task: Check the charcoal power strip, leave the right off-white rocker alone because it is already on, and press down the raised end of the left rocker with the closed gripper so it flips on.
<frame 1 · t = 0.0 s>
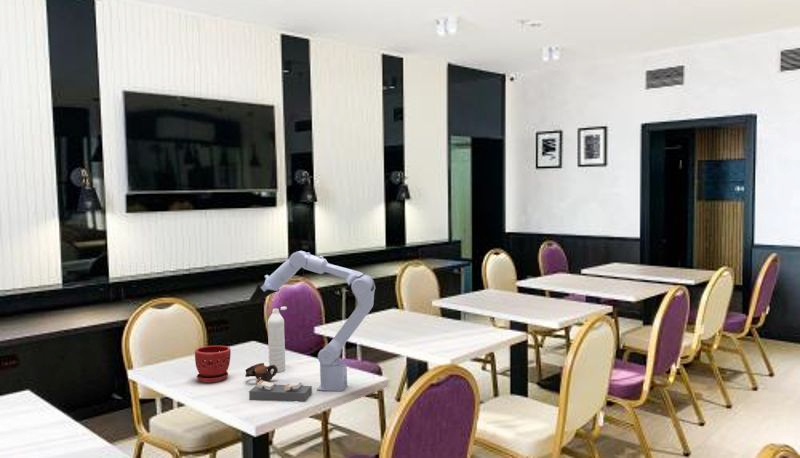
hand: (255, 299, 231), 32 cm above the table, tool tilted 50°, fingers open, 7 cm apart
power strip: (281, 396, 219), on the table
rocker 2: (292, 386, 216), point 4 cm above the table, hinge at 12.0°
water bottle: (279, 370, 253), on the table
rocker 1: (265, 385, 218), point 4 cm above the table, hinge at -12.0°
pottery mug: (261, 382, 237), on the table
plant pot: (213, 379, 241), on the table
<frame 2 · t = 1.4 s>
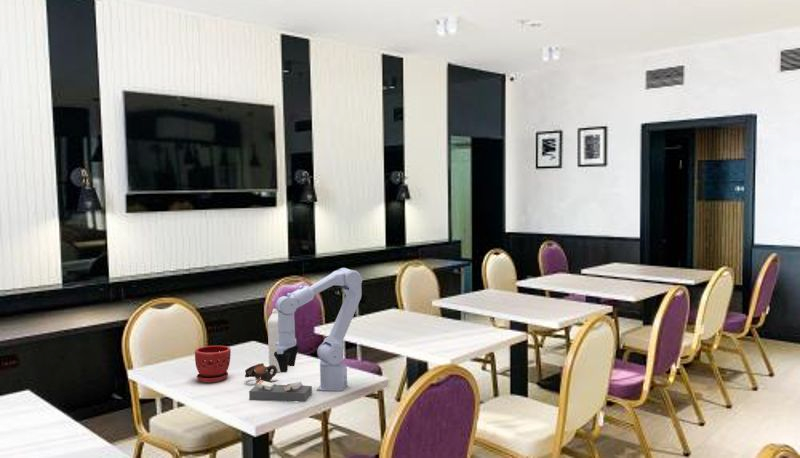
hand: (287, 369, 220), 9 cm above the table, tool pointing down, fingers open, 7 cm apart
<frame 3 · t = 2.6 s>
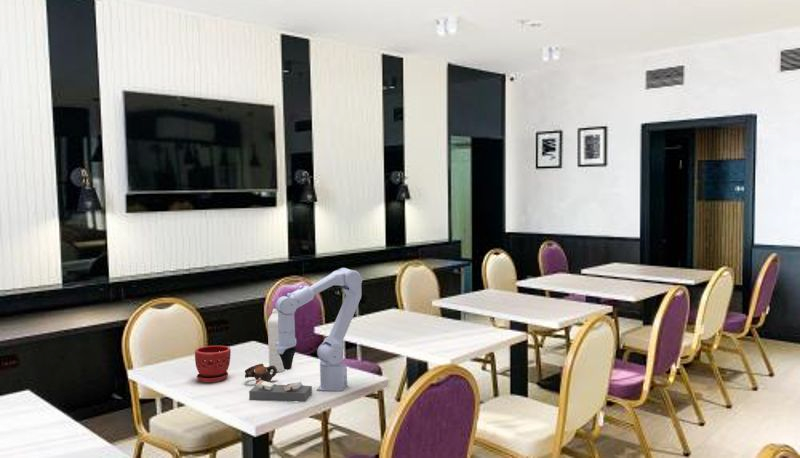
hand: (287, 369, 220), 9 cm above the table, tool pointing down, fingers closed
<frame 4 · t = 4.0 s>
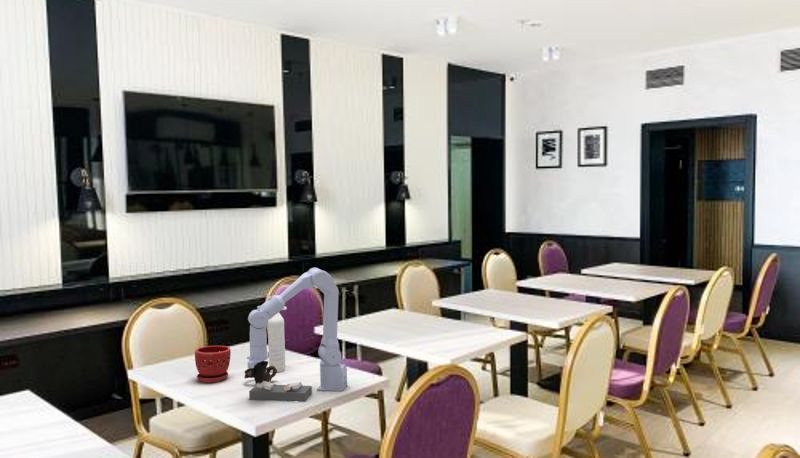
hand: (259, 382, 218), 5 cm above the table, tool pointing down, fingers closed, pressing on rocker 1
rocker 1: (265, 385, 218), point 4 cm above the table, hinge at -11.6°, touching gripper
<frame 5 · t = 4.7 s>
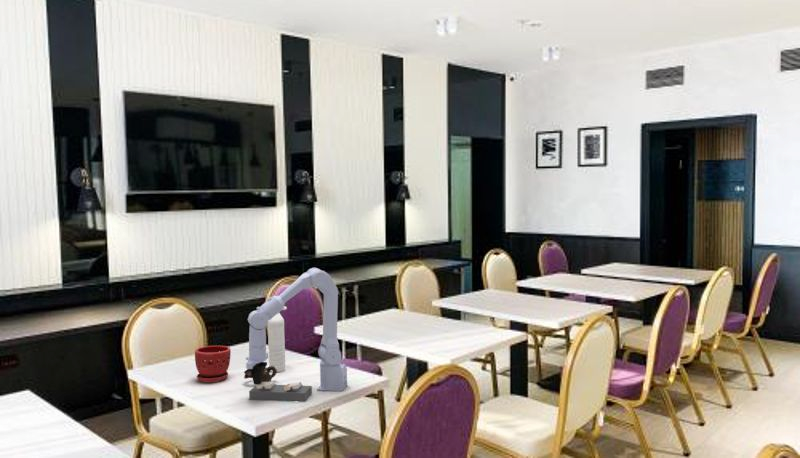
hand: (257, 383, 218), 5 cm above the table, tool pointing down, fingers closed, pressing on rocker 1
rocker 1: (265, 385, 218), point 4 cm above the table, hinge at 2.5°, touching gripper
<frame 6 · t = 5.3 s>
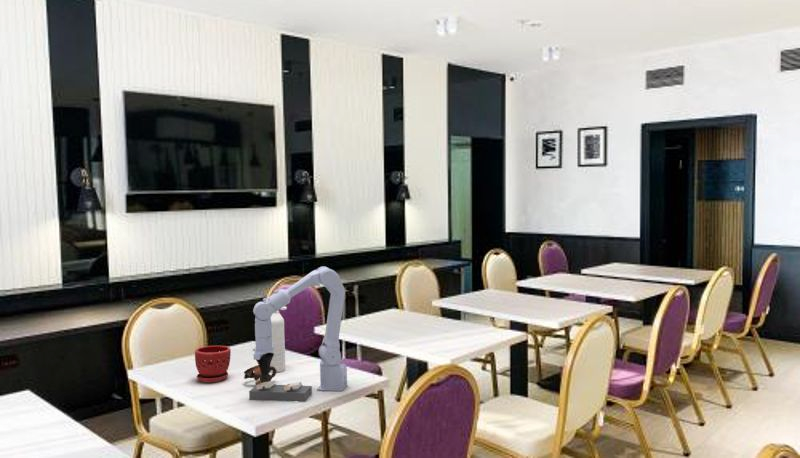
hand: (265, 374, 220), 8 cm above the table, tool pointing down, fingers closed
rocker 1: (265, 385, 218), point 4 cm above the table, hinge at 10.4°
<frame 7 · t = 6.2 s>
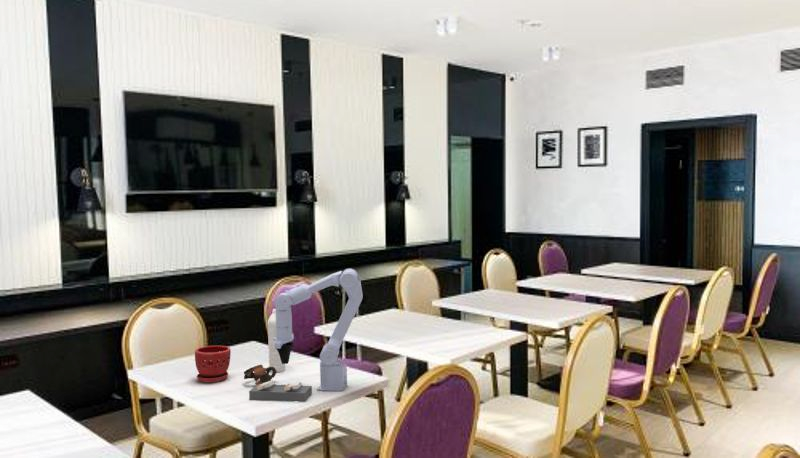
hand: (285, 363, 227), 9 cm above the table, tool pointing down, fingers closed
rocker 1: (265, 385, 218), point 4 cm above the table, hinge at 19.4°
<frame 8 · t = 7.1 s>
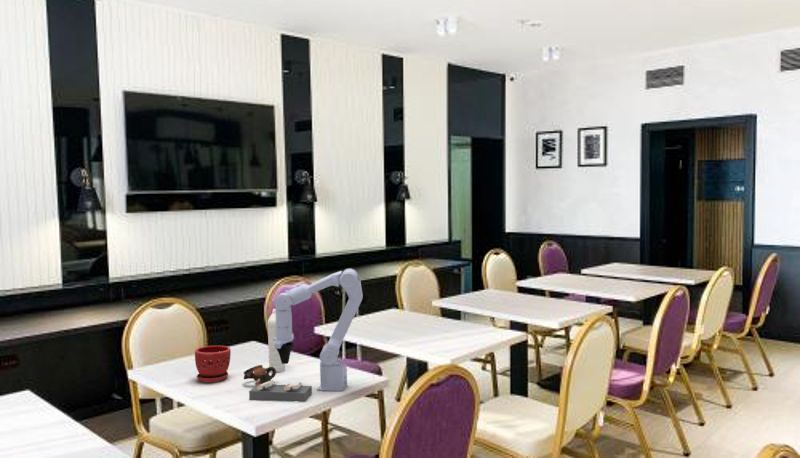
hand: (285, 363, 227), 9 cm above the table, tool pointing down, fingers closed
rocker 1: (265, 385, 218), point 4 cm above the table, hinge at 21.6°
at the end: rocker 1 at +21° (first picture: -12°); rocker 2 at +12° (first picture: +12°) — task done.
